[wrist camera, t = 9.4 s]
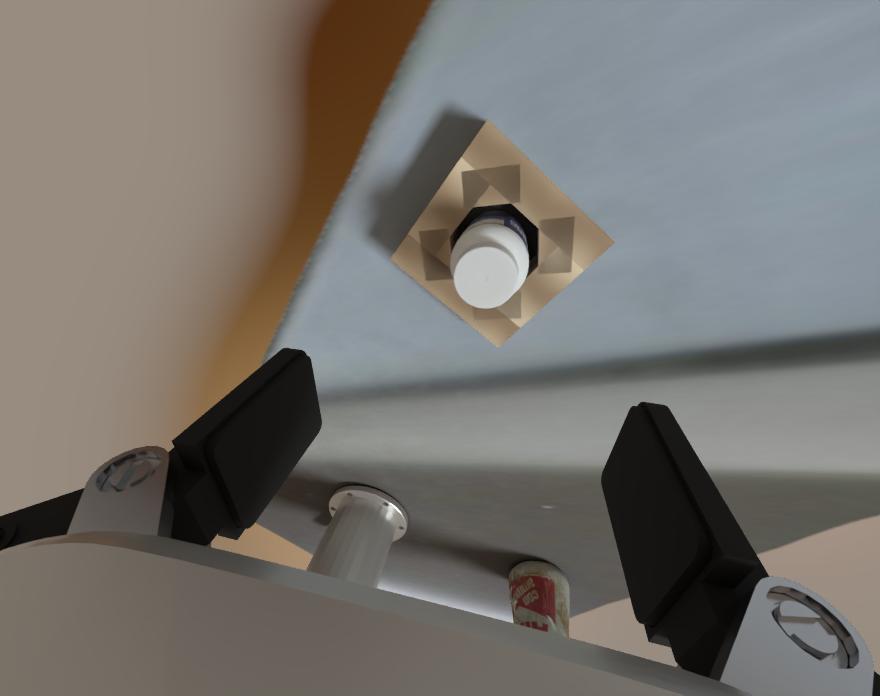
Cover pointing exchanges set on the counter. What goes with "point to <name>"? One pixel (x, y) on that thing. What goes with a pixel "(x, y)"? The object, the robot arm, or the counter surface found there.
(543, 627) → the bottle
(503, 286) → the pill bottle
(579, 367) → the counter surface
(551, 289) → the collar
